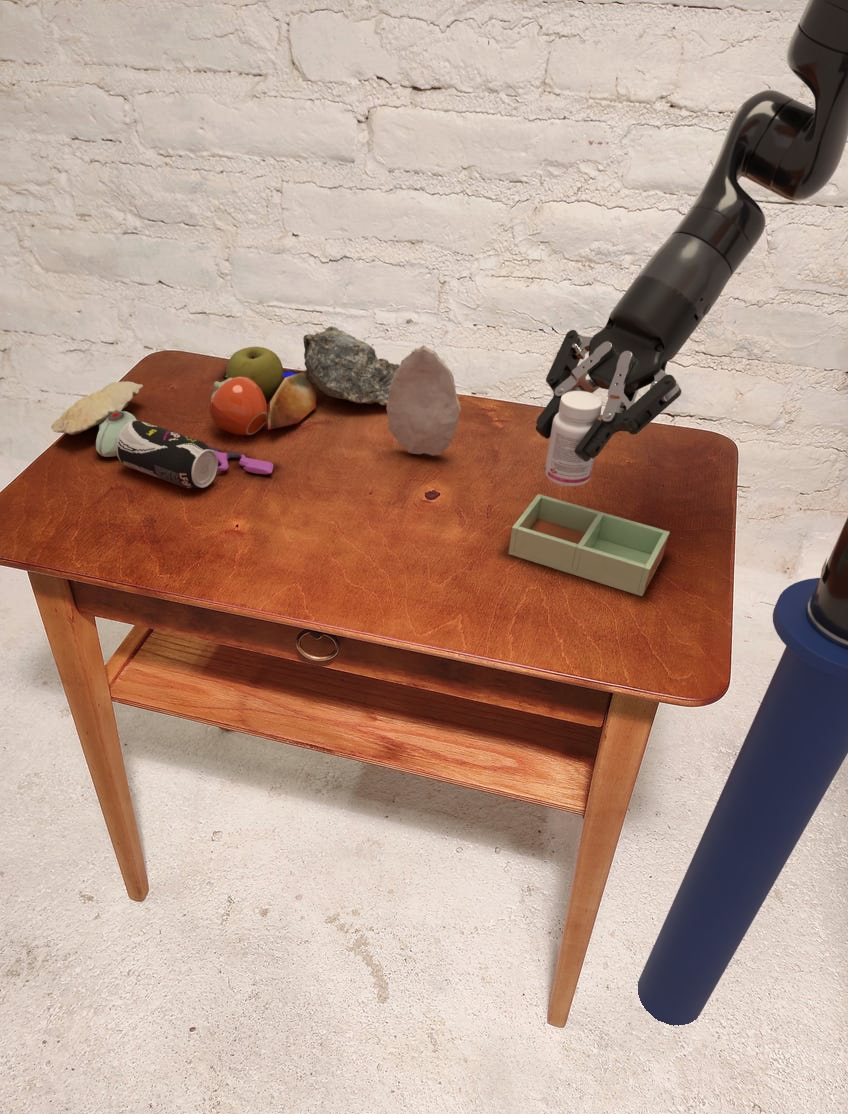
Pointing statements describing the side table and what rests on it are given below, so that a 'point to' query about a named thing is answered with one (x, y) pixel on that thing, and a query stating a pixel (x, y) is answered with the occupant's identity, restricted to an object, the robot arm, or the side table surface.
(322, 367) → the rock
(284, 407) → the decorative stone
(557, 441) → the pill bottle
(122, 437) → the beverage can
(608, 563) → the divided tray
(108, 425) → the robot head
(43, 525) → the side table surface
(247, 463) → the pink plastic clamp
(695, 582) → the side table surface
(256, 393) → the tomato
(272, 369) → the apple
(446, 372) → the stone tool
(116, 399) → the stone tool
